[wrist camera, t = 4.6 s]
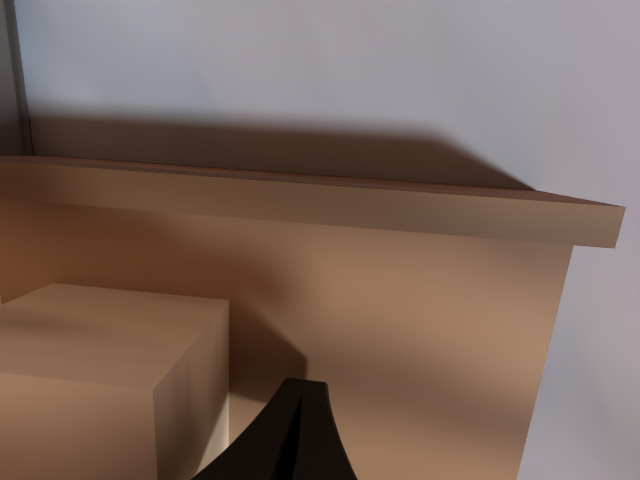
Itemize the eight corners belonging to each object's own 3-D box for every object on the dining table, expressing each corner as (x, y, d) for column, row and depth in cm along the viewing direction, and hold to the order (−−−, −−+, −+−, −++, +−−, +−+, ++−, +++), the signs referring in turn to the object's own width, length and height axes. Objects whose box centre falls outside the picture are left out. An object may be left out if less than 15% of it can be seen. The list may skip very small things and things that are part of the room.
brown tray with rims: (466, 528, 16) (511, 672, 11) (-179, 440, 18) (-351, 532, 13) (544, 161, 12) (656, 164, 8) (-288, 106, 14) (-576, 84, 10)
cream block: (228, 453, 13) (164, 608, 8) (71, 434, 13) (-67, 571, 9) (229, 300, 11) (152, 390, 7) (53, 282, 12) (-124, 358, 7)
